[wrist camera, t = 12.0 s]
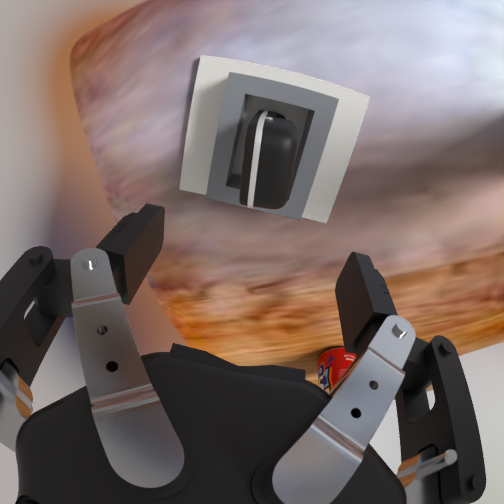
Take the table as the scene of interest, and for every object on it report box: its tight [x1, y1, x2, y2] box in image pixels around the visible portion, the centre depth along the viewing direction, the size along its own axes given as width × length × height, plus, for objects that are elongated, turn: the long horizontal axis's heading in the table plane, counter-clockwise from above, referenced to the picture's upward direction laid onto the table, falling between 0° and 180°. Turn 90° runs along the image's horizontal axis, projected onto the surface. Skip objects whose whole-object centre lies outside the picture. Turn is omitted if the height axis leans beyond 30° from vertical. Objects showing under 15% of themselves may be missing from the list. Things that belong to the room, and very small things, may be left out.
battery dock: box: [179, 55, 370, 224], centre depth 27 cm, size 18×16×5 cm
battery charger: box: [239, 110, 298, 209], centre depth 24 cm, size 7×4×11 cm, turn 174°
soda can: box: [317, 347, 356, 393], centre depth 43 cm, size 8×8×15 cm
